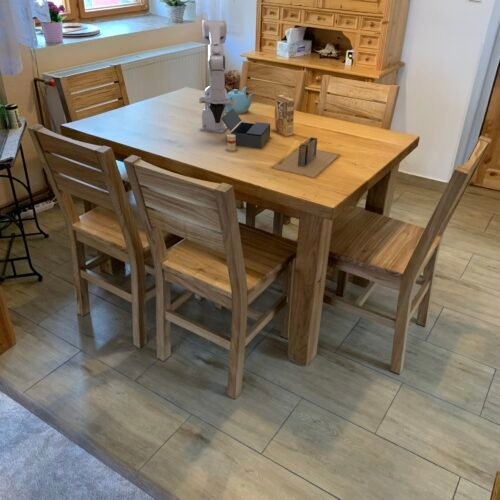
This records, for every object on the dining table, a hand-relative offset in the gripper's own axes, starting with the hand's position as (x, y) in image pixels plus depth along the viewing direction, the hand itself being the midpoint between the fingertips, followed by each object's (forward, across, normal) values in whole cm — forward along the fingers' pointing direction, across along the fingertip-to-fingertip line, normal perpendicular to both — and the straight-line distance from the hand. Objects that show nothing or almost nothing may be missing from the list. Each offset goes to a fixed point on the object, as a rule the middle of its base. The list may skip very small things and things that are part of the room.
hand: (217, 122), depth 201 cm
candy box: (+9, +22, +22) cm, 32 cm away
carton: (+9, +12, +6) cm, 16 cm away
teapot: (+9, -6, +46) cm, 48 cm away
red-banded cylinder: (+9, +8, -6) cm, 13 cm away
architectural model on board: (+9, +38, -7) cm, 40 cm away
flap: (0, +4, +6) cm, 8 cm away
